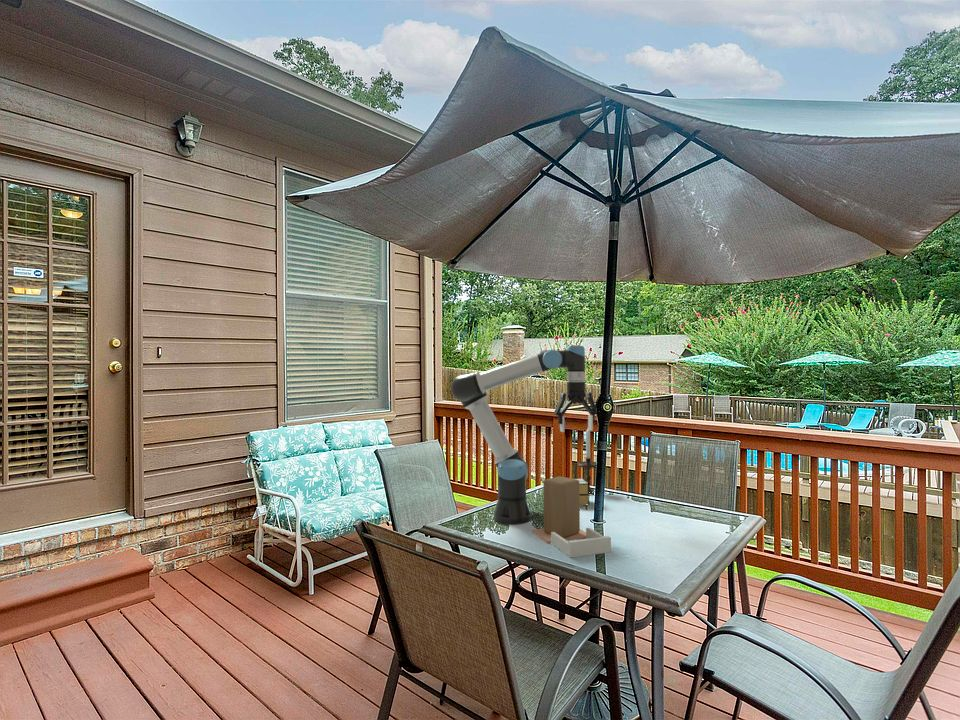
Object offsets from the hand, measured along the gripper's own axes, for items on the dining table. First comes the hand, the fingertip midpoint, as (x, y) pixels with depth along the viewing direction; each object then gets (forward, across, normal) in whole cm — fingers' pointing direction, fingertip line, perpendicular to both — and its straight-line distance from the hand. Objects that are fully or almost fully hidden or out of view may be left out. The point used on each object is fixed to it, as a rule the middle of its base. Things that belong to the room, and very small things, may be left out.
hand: (576, 431), depth 227 cm
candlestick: (+35, +21, +27) cm, 49 cm away
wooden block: (+34, -20, -24) cm, 46 cm away
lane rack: (+35, -20, -38) cm, 55 cm away
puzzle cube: (+35, +6, +13) cm, 38 cm away
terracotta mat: (+35, -20, -24) cm, 47 cm away
